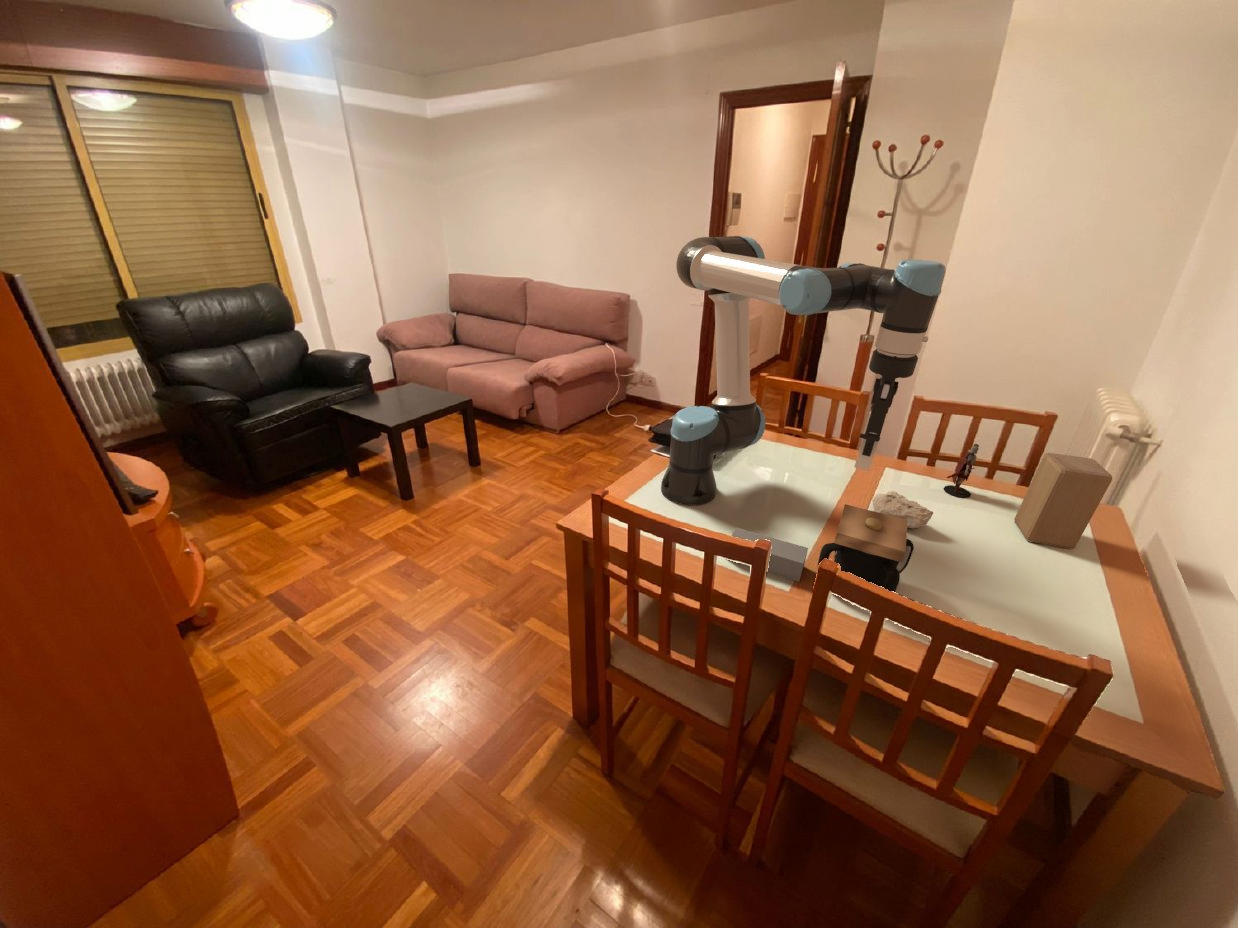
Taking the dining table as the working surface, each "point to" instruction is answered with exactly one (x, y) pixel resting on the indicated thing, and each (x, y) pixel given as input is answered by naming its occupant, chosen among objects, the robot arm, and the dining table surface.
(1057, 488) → the wooden block
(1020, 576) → the dining table surface
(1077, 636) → the dining table surface
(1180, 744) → the dining table surface
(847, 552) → the mug
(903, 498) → the stone
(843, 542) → the lid
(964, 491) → the figurine
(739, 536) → the riser
